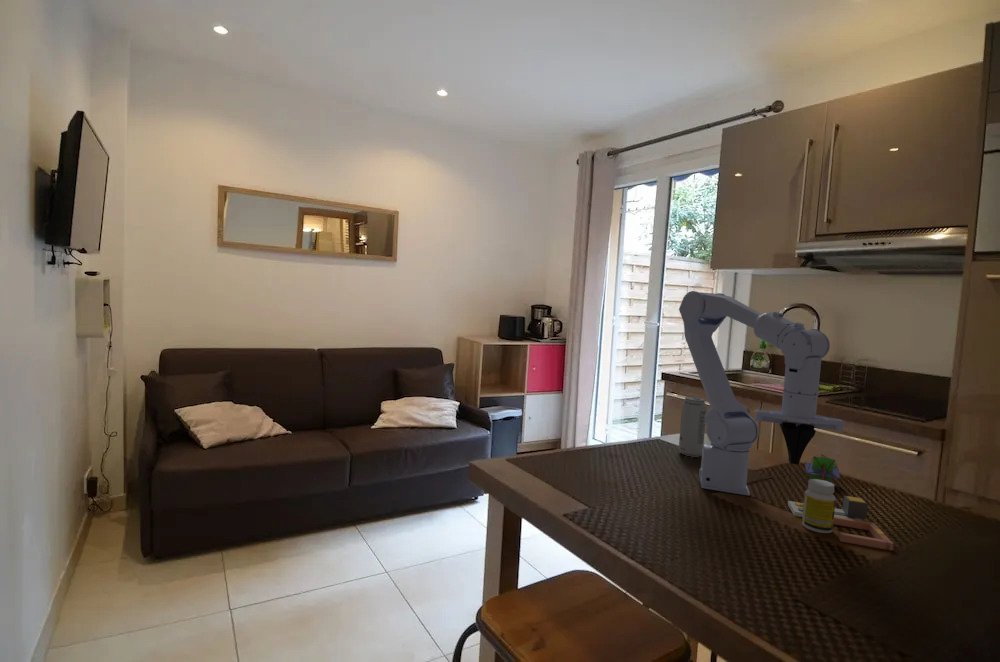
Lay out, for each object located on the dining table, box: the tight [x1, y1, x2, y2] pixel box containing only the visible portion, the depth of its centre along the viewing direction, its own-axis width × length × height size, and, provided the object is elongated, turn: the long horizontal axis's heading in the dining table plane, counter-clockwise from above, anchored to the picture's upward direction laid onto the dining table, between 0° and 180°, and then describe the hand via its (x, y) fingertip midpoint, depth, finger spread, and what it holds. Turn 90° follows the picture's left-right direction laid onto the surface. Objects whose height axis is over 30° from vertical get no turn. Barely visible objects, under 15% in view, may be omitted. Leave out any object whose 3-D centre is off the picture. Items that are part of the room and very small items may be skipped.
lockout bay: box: [833, 516, 894, 552], centre depth 91 cm, size 8×9×1 cm
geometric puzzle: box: [804, 453, 842, 483], centre depth 118 cm, size 7×7×8 cm
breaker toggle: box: [842, 495, 869, 520], centre depth 97 cm, size 3×3×3 cm
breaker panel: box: [787, 500, 864, 521], centre depth 99 cm, size 12×6×1 cm, turn 71°
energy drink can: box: [678, 396, 708, 458], centre depth 135 cm, size 6×6×15 cm
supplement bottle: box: [801, 478, 837, 534], centre depth 92 cm, size 5×5×8 cm
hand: (793, 462), depth 98 cm, fingers closed
